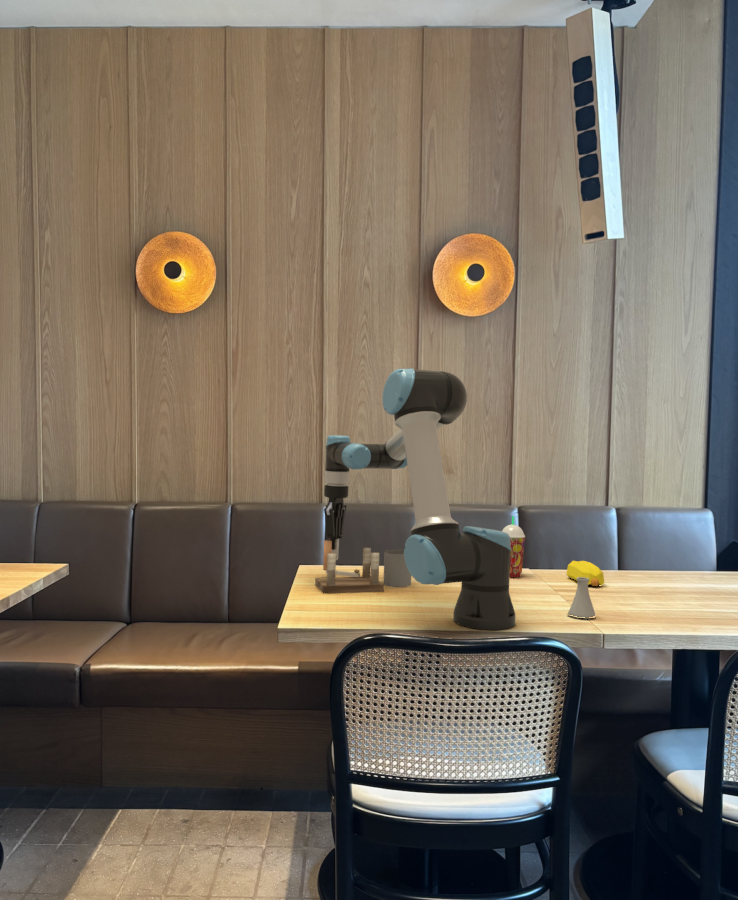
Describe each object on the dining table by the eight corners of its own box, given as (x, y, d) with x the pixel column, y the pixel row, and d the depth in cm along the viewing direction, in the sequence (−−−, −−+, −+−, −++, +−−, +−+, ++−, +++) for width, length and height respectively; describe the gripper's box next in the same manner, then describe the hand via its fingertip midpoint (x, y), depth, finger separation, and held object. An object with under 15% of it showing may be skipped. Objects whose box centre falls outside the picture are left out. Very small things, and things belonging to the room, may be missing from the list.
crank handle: (357, 577, 209) (358, 544, 209) (321, 573, 213) (322, 541, 213) (360, 576, 211) (361, 543, 211) (325, 572, 215) (326, 540, 215)
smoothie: (493, 574, 233) (495, 514, 232) (515, 573, 235) (517, 514, 235) (505, 579, 225) (508, 517, 224) (528, 578, 227) (530, 517, 227)
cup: (411, 582, 216) (412, 550, 216) (410, 588, 208) (411, 554, 207) (384, 581, 217) (385, 549, 216) (382, 586, 208) (383, 553, 208)
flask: (573, 611, 184) (575, 574, 184) (600, 616, 180) (601, 578, 180) (562, 616, 179) (563, 578, 179) (589, 622, 174) (591, 582, 174)
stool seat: (383, 591, 202) (384, 553, 201) (323, 593, 197) (324, 554, 197) (372, 582, 213) (373, 547, 213) (314, 584, 209) (315, 547, 208)
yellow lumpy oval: (584, 589, 215) (608, 589, 215) (585, 567, 214) (609, 567, 215) (562, 577, 232) (584, 577, 233) (563, 557, 232) (585, 557, 233)
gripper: (333, 482, 224) (330, 554, 225) (317, 485, 212) (313, 561, 213) (355, 484, 222) (351, 557, 223) (339, 487, 209) (336, 564, 210)
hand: (333, 559), depth 218 cm, fingers closed
